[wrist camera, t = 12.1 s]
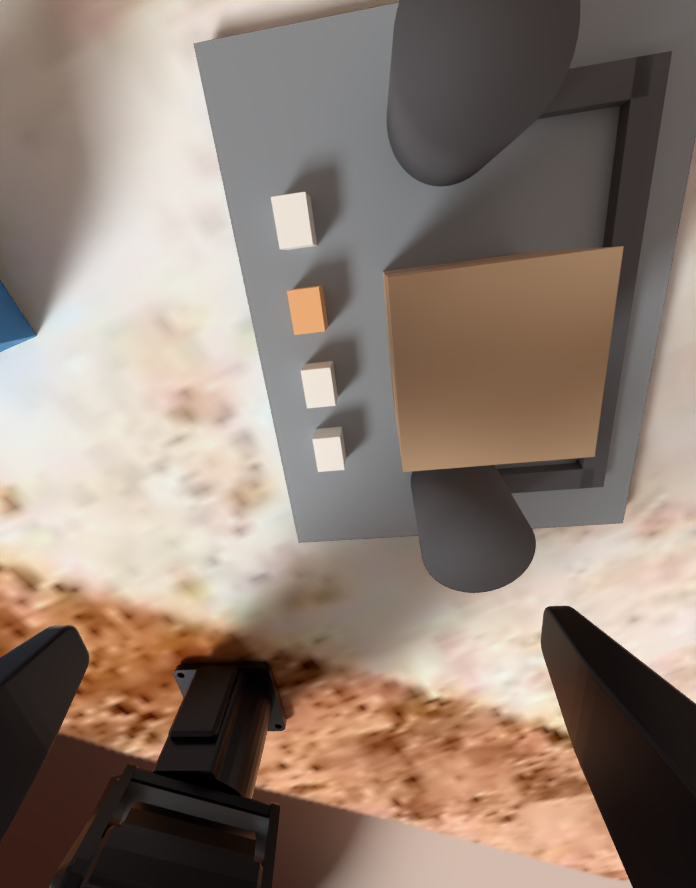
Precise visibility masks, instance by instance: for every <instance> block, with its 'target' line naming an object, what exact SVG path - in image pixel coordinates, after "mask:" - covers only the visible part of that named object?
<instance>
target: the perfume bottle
mask: <svg viewBox="0 0 696 888" xmlns="http://www.w3.org/2000/svg"><path fill="white" fill-rule="evenodd" d="M35 336H36V334H35V333H34V331H33V329H32V328H31V326H30V325H29V323H28V322H27V320H26V319H25V317H24V316H23V314H22V313H21V311H20V310H19V308H18V307H17V305H16V304H15V302H14V300H13V299H12V297H11V296H10V294H9V293H8V291H7V290H6V288H5V287H4V285H3V284H2V282H1V281H0V352H1V351H3V350H5V349H8V348H10V347H12V346H15V345H17V344H19V343H21V342H24V341H26V340H28V339H31V338H33V337H35Z"/></svg>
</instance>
